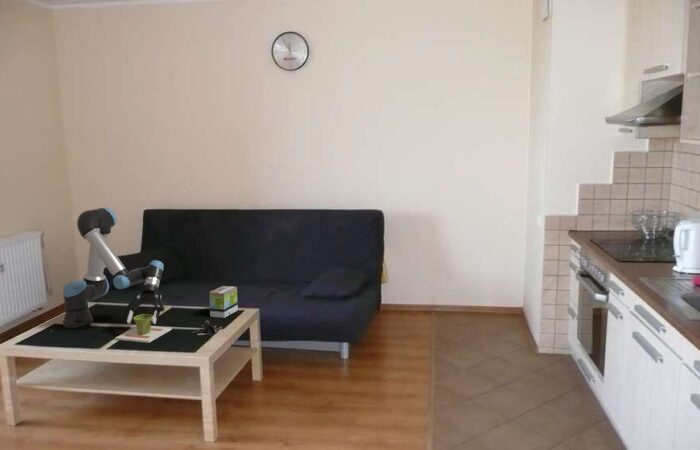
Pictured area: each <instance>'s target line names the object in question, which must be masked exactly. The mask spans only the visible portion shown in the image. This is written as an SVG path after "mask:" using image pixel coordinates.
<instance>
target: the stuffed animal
mask: <svg viewBox="0 0 700 450" xmlns="http://www.w3.org/2000/svg"><path fill="white" fill-rule="evenodd" d="M201 328H202V329H203V330H196V331H191V334H196V335H197V336H204V335H206V336H207V335H213V334H217V333H218V331H220V330H221V329H222V326H220V327H217V325H213V324H211V323H210V321H209V320H205V321H204V322H203V324H202V325H201Z"/></svg>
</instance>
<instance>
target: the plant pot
mask: <svg viewBox="0 0 700 450" xmlns="http://www.w3.org/2000/svg"><path fill="white" fill-rule="evenodd" d="M132 319H133V320H134V322H135V327H137V330H138V333H139V334H145V333H149V332H150V331H151V326H152V320H153V314H151V313H142V314H141V313H140V314H138V315H135V316H133V317H132Z"/></svg>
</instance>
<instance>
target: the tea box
mask: <svg viewBox="0 0 700 450" xmlns="http://www.w3.org/2000/svg"><path fill="white" fill-rule="evenodd" d="M238 306H239V304H238V287H237V286H230V285H229V286H228V285H226V286H225V285H221V286H220V287H217V288H216V289H213V290H211V291H209V309H210V310H209V315H210V317H212V318H223V319H225V318H226V317H228V316H230V315H231V314H234V313H236V312H237V311H239V310H238V309H239V307H238Z"/></svg>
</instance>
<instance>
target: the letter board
mask: <svg viewBox="0 0 700 450" xmlns="http://www.w3.org/2000/svg"><path fill="white" fill-rule="evenodd" d="M172 329H173V328H172V327H169V326H168V327H165V326H156V325H154V326H153V325H151V331H150V332H149V333H145V334H139V333H138V330H137V326H135V327H133V328H131V329H130V330H128V331H125V332H124V333H122V334H120V335H118V336H115V338H114V339H115V340H117V341H127V342H137V343H147V344H148V343H151V342H152V341H154V340H156V339H158V338H160V337H161V336H163V335H165V334H167V333H168V332H170V331H172Z"/></svg>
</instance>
